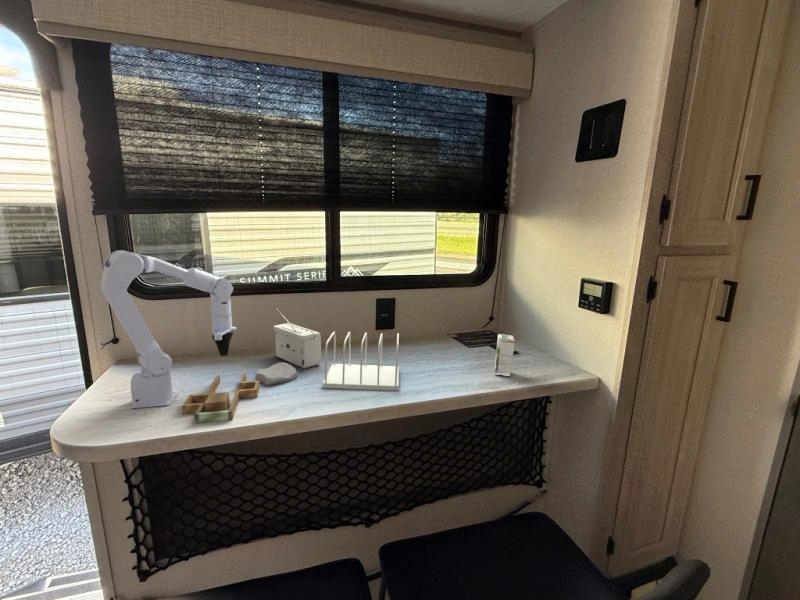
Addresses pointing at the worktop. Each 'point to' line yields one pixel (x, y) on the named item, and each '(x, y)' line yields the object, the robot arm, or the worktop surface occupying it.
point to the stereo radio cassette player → (297, 344)
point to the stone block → (276, 374)
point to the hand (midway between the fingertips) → (224, 355)
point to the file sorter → (361, 370)
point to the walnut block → (217, 402)
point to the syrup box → (504, 353)
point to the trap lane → (198, 407)
